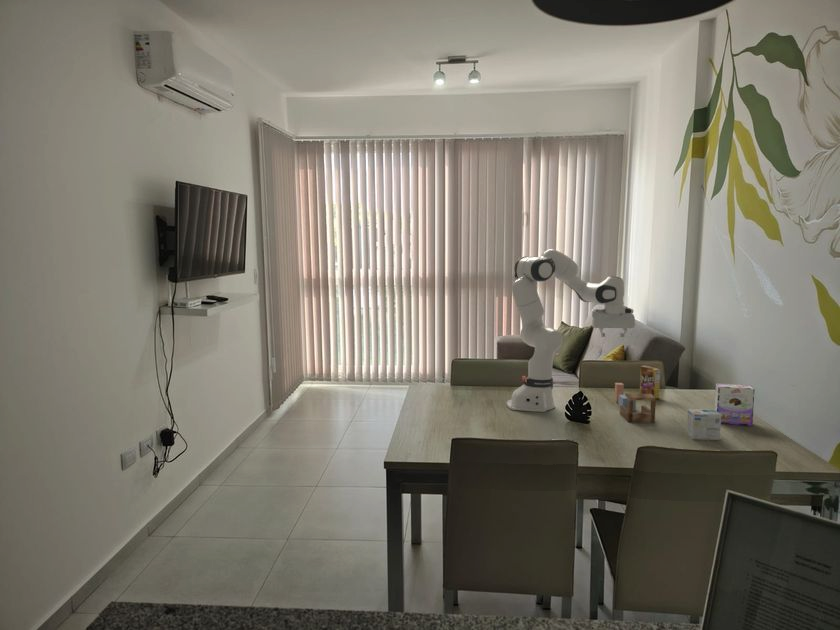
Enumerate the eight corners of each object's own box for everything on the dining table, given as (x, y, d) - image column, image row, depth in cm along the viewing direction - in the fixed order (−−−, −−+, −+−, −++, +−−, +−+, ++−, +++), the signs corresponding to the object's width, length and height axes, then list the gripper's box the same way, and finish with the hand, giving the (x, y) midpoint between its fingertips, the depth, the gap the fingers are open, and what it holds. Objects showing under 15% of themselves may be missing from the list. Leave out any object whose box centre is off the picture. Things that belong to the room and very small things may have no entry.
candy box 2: (749, 422, 233) (751, 385, 231) (752, 426, 228) (755, 388, 226) (713, 418, 238) (715, 382, 236) (715, 423, 232) (718, 386, 230)
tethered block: (622, 410, 250) (623, 392, 249) (611, 400, 266) (612, 382, 265) (635, 411, 250) (636, 392, 248) (623, 400, 266) (624, 382, 265)
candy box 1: (638, 395, 275) (640, 365, 273) (644, 394, 277) (646, 365, 275) (653, 399, 268) (655, 369, 266) (659, 398, 270) (661, 368, 268)
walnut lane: (628, 422, 234) (629, 397, 232) (619, 413, 246) (620, 389, 244) (654, 422, 233) (655, 397, 232) (644, 413, 245) (645, 390, 244)
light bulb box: (713, 434, 219) (714, 408, 217) (720, 440, 212) (722, 414, 211) (685, 433, 220) (687, 408, 218) (692, 439, 213) (693, 413, 212)
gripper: (594, 310, 263) (593, 337, 265) (636, 309, 262) (635, 338, 264) (590, 308, 269) (589, 335, 271) (632, 308, 268) (631, 335, 270)
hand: (612, 336), depth 267 cm, fingers open, 8 cm apart
